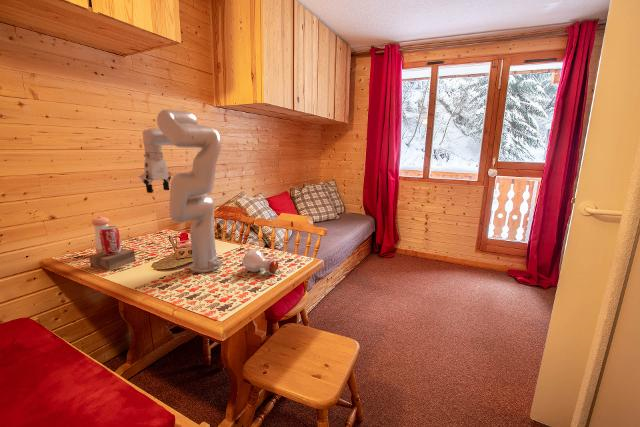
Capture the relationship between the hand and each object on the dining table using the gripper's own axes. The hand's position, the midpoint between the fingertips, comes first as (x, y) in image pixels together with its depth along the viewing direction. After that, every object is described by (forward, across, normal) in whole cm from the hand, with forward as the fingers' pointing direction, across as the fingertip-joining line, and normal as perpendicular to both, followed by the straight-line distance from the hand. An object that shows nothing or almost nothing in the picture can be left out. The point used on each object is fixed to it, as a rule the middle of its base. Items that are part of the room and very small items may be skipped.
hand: (158, 191), depth 147 cm
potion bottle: (+31, -8, -61) cm, 69 cm away
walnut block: (+30, -23, +6) cm, 38 cm away
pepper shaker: (+31, -15, +23) cm, 41 cm away
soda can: (+26, -23, +6) cm, 35 cm away
